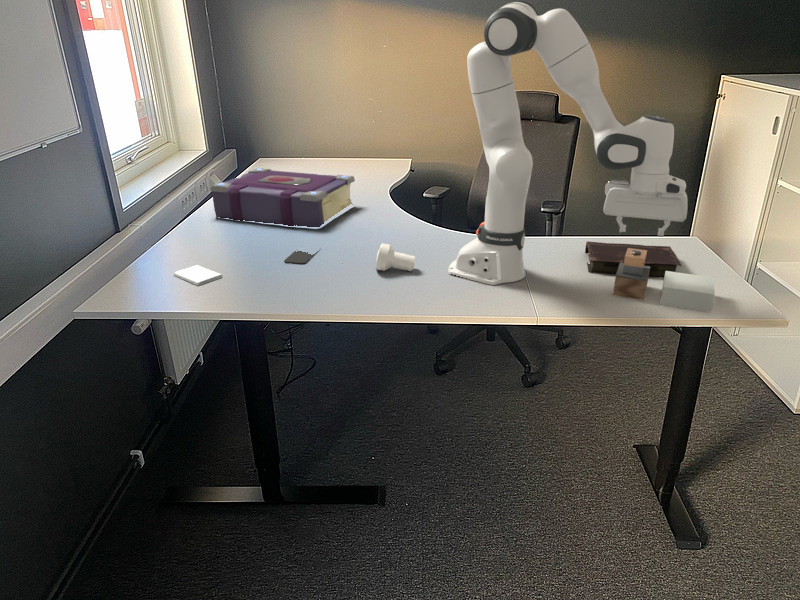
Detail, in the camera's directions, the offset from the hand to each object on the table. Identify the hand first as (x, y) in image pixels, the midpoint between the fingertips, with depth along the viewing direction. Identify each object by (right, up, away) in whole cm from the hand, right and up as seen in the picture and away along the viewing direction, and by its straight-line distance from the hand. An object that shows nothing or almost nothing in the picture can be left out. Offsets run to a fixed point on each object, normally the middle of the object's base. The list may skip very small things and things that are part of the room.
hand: (641, 233), depth 160 cm
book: (-108, +16, +77) cm, 134 cm away
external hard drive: (-123, -11, +19) cm, 125 cm away
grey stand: (+12, -17, +2) cm, 21 cm away
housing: (0, -9, +5) cm, 11 cm away
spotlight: (-66, -9, +22) cm, 70 cm away
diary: (+6, -8, +25) cm, 26 cm away
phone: (-95, -4, +34) cm, 101 cm away
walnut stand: (0, -15, +7) cm, 16 cm away
